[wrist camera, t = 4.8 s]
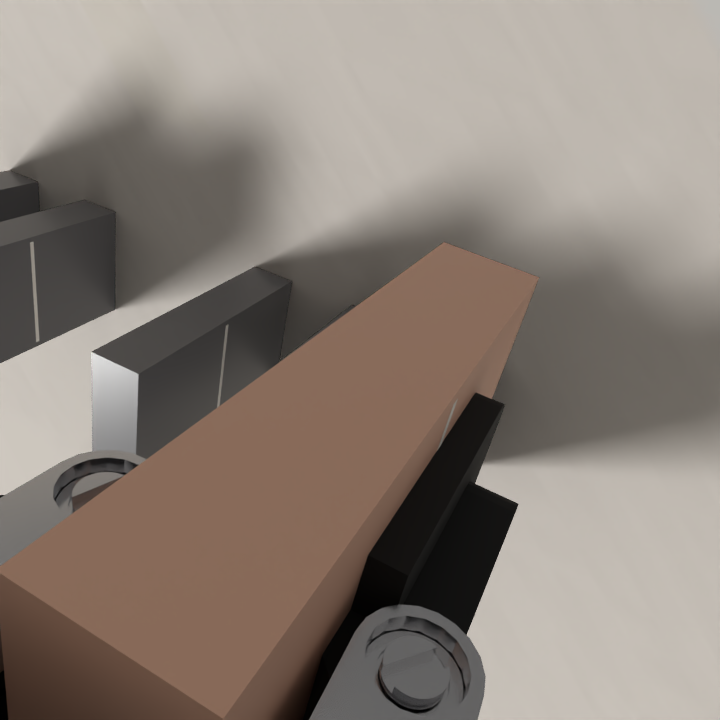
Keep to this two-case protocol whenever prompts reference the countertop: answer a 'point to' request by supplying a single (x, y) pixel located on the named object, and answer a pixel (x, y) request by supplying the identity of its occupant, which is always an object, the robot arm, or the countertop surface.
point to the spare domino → (255, 516)
